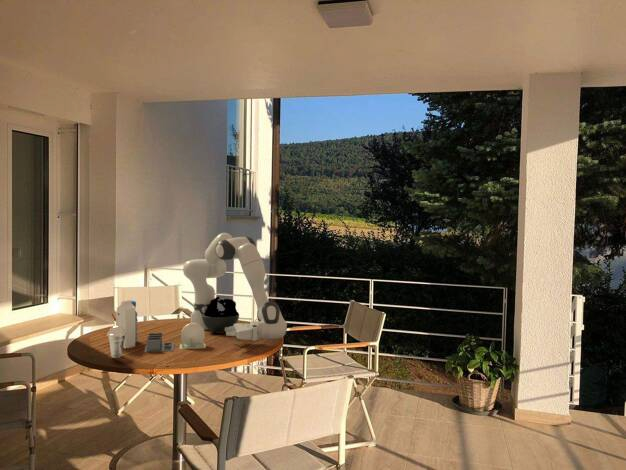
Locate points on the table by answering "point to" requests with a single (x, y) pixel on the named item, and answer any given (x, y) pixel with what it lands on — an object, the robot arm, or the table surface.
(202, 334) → the plate
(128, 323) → the milk
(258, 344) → the table surface
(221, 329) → the bowl of black rocks
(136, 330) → the beverage bottle
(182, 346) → the plate stand
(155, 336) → the dish rack
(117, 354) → the cup with straw
